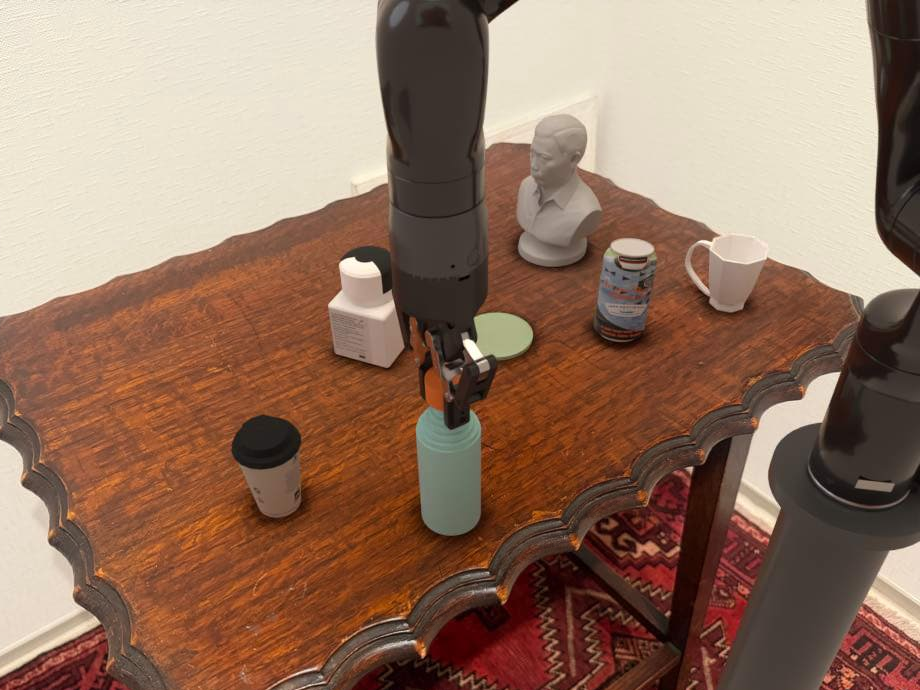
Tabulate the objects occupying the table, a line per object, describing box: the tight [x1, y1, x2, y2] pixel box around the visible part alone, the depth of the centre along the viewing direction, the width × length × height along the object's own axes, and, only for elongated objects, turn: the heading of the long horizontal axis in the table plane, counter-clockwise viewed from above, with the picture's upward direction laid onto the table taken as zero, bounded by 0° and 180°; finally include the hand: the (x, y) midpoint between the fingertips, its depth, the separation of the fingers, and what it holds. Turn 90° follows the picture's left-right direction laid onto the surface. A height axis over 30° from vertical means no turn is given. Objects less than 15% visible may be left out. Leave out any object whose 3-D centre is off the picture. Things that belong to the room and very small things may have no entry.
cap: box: [425, 362, 461, 411], centre depth 76 cm, size 4×4×2 cm
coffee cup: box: [230, 414, 302, 519], centre depth 88 cm, size 7×7×10 cm
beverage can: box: [593, 237, 658, 343], centre depth 103 cm, size 6×7×12 cm
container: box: [327, 245, 411, 369], centre depth 105 cm, size 8×8×13 cm
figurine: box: [515, 113, 604, 268], centre depth 115 cm, size 9×13×20 cm
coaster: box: [474, 312, 534, 362], centre depth 108 cm, size 9×9×1 cm
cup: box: [684, 232, 771, 313], centre depth 108 cm, size 7×10×8 cm
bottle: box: [415, 405, 482, 537], centre depth 82 cm, size 6×6×18 cm
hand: (444, 409), depth 78 cm, fingers closed on cap, 3 cm apart
